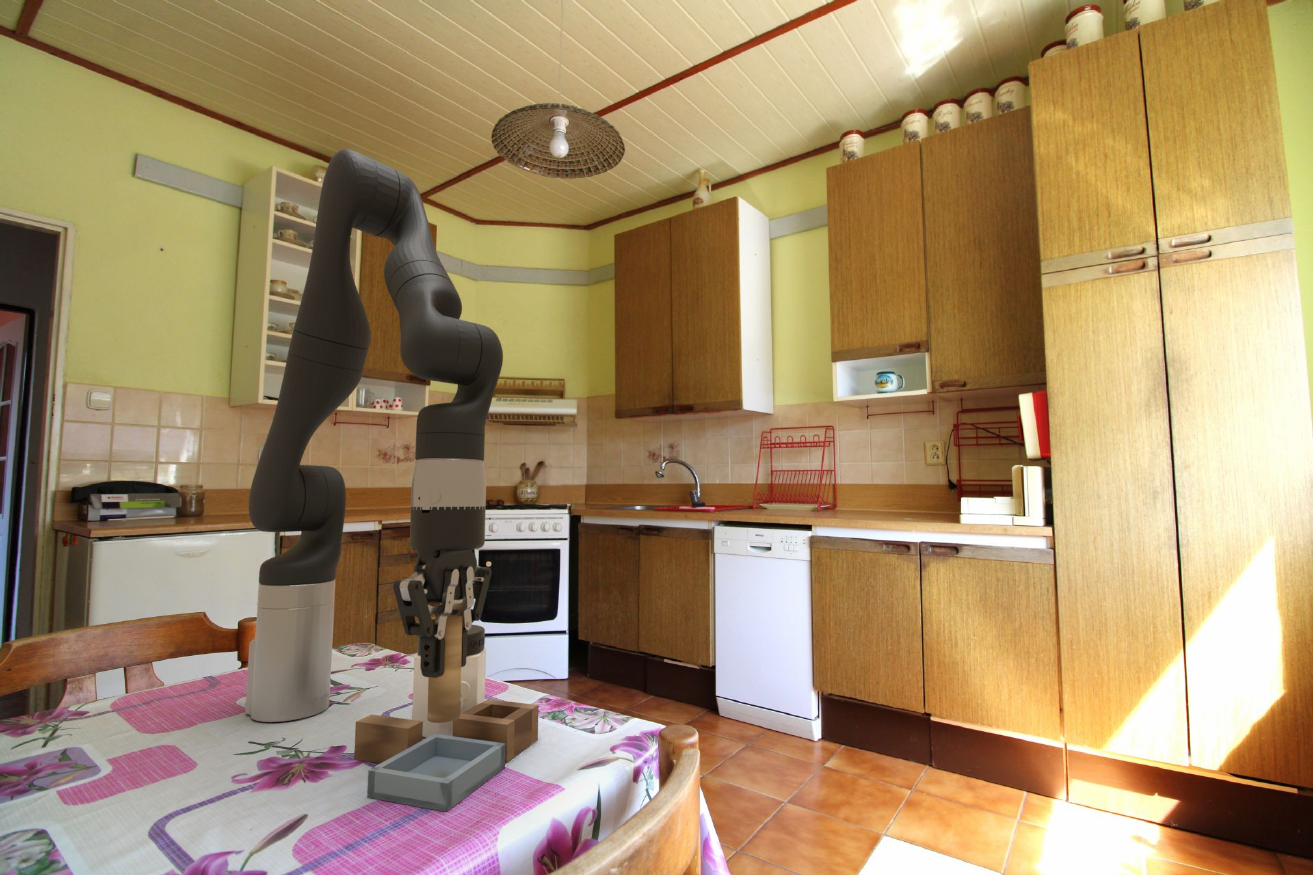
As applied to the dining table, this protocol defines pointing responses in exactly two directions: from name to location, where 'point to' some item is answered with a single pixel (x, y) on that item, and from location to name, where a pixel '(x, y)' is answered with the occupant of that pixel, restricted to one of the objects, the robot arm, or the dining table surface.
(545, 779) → the dining table surface
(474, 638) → the jar
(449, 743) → the tray
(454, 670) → the dowel
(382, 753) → the block
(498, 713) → the socket block
